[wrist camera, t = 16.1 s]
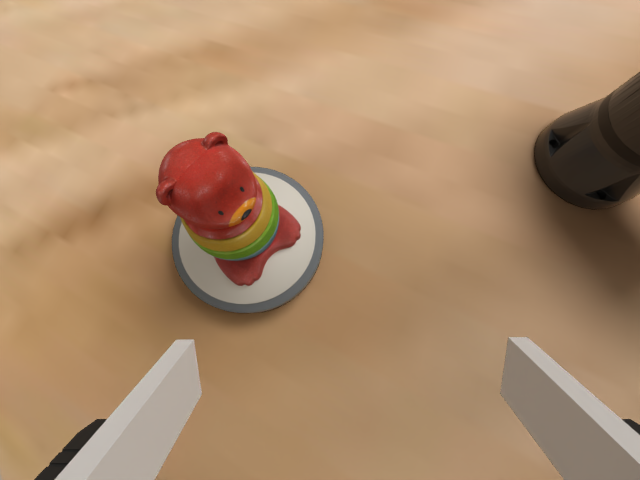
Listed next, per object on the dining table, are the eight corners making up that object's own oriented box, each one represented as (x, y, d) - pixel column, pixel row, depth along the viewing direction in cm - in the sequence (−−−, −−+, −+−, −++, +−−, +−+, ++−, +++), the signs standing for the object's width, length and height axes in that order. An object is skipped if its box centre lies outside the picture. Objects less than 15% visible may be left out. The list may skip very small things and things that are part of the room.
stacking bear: (244, 294, 36) (179, 274, 18) (189, 236, 37) (81, 168, 20) (308, 231, 38) (303, 161, 20) (253, 179, 39) (206, 73, 22)
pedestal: (277, 156, 45) (274, 141, 41) (349, 262, 41) (353, 257, 37) (160, 222, 42) (144, 212, 38) (226, 342, 38) (216, 345, 34)
